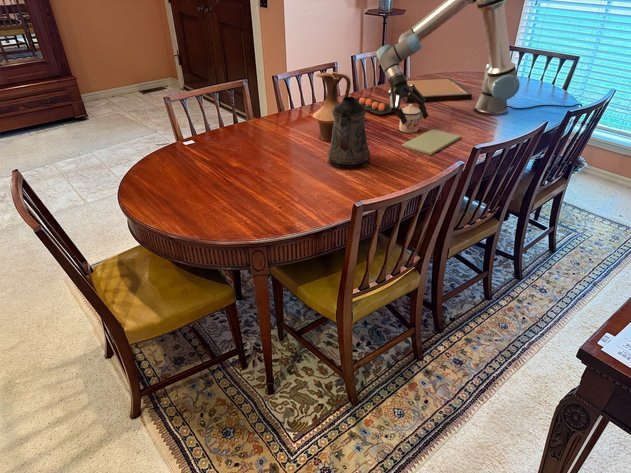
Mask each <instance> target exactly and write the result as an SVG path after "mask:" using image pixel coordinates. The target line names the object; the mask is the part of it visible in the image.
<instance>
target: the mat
mask: <svg viewBox="0 0 631 473" xmlns="http://www.w3.org/2000/svg"><path fill="white" fill-rule="evenodd" d="M460 139H461V135H458V134H454V133H450V132H446V131H443V130H438V129H434V128H432V129H430V130H427V131H426V132H423V133H421V134H420V135H419V134H418V135H417V136H416V137H413V138H411V139H409V140H407V141H405V142H404V143H402V144H401V147H402V148H405V149H409V150H412V151H414V152H418V153H422V154H425V155H429V156H431V155H434V154H435V153H436V152H439V151H440V150H442V149H444V148H446V147H447V146H450V145H451V144H453V143H455V142H456V141H458V140H460Z"/></svg>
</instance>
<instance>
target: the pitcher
mask: <svg viewBox="0 0 631 473" xmlns="http://www.w3.org/2000/svg"><path fill="white" fill-rule="evenodd" d="M315 77H319V78H321V79H322V80H323V81H324V83H325V86H326V96H325V97H326V98H325V101H324V102H323V105H322V106H321V107H320V108H319V109H317V111H315V112H314V113H313V114H312V118H313V119H314V120H317V123H318V128H319V135H320V136H319V138H320V139H321V140H322V141H323V142H331V140H332V131H333V124H334V117H333V114H332V111H333V109H334V108H335V107H336V106H337V105H338V104H339V103H340V101H339V99H338V96H337V86H338V84H339V83H340V82H341V80H342V79H344V80H345V81H346V86H345V93H344V97H349V94H350V91H351V85H352V84H351V83H352V82H351V78H350V77H349V75H348V74H346V73H340V72H336V71H332V73H329V72H320V73H316V74H315ZM344 97H343V98H344Z"/></svg>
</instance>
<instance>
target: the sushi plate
mask: <svg viewBox="0 0 631 473" xmlns="http://www.w3.org/2000/svg"><path fill="white" fill-rule="evenodd" d="M354 98H355V100H356V101H357V102H358V103H359V104H360V105H362V106H363V107H364V109H365V110H366V112H369V113H372V114H375V115H378V116H383V115H389V114H391V113H394V112H393V111H391V109H390V103H386V102H384V101H380V100H377V99H375V98H372V97H369V96H359V97H354ZM364 122H367V119H366V117H364Z"/></svg>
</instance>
